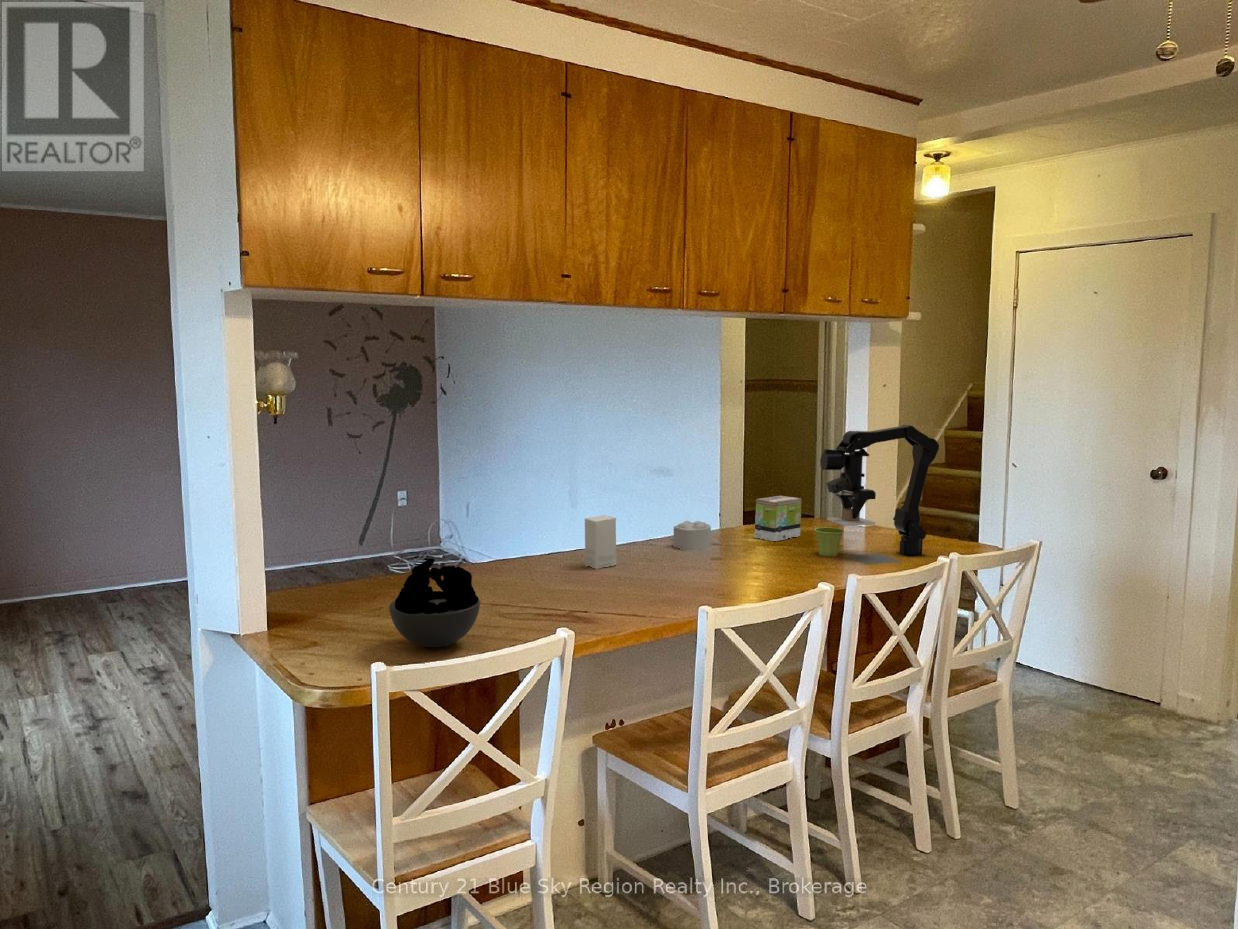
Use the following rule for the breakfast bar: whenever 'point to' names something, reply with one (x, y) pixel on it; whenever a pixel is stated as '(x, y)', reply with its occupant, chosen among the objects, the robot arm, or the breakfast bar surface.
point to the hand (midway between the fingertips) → (850, 517)
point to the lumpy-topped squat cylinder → (692, 535)
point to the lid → (850, 519)
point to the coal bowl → (435, 606)
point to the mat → (873, 558)
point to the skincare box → (600, 541)
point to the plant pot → (828, 540)
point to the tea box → (777, 518)
